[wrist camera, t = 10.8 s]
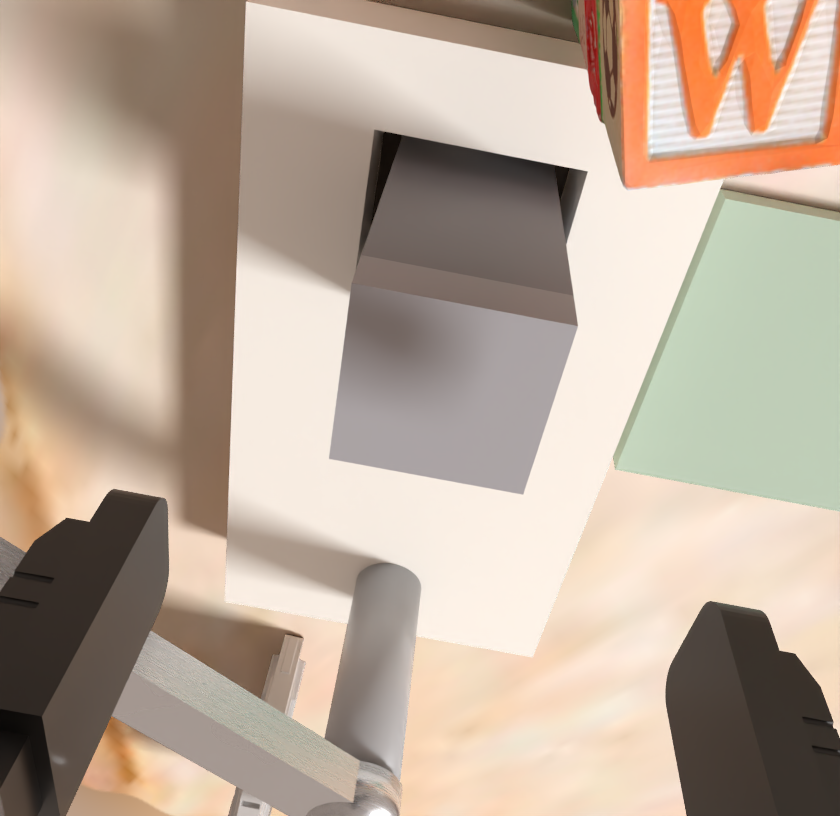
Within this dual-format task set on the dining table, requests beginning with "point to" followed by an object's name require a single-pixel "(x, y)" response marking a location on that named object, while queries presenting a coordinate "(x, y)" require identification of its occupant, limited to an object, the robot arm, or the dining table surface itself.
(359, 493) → the socket block
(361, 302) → the plug
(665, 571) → the dining table surface
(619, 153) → the stack of blocks
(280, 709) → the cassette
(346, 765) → the clip
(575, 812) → the dining table surface
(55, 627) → the robot arm
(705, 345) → the mat
